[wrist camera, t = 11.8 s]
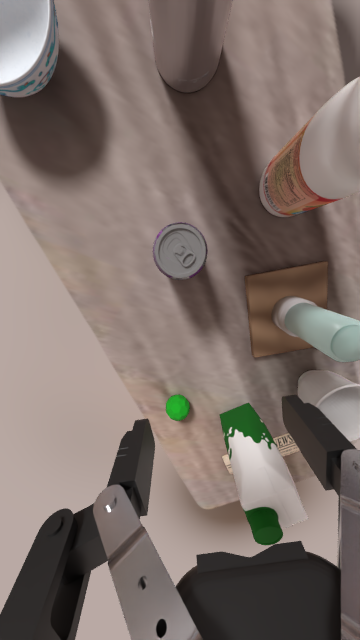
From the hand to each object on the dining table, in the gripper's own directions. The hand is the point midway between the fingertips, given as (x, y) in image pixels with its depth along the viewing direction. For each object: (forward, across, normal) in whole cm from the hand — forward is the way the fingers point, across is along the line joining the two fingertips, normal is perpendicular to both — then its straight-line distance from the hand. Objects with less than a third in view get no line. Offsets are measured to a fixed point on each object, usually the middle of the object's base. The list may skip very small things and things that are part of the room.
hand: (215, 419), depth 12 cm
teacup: (+28, -22, +22) cm, 42 cm away
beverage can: (+28, 0, -10) cm, 30 cm away
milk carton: (+28, -7, +28) cm, 40 cm away
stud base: (+28, -18, +4) cm, 34 cm away
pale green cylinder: (+23, -18, +4) cm, 29 cm away
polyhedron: (+28, +6, +20) cm, 35 cm away
